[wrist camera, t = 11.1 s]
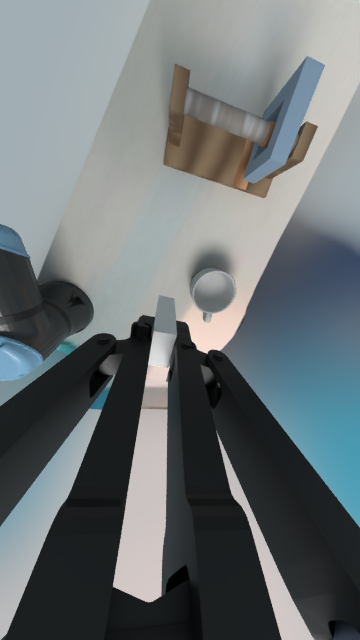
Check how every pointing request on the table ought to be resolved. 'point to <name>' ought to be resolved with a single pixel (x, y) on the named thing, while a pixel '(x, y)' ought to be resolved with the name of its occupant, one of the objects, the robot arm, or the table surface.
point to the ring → (284, 120)
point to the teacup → (212, 291)
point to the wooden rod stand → (221, 138)
